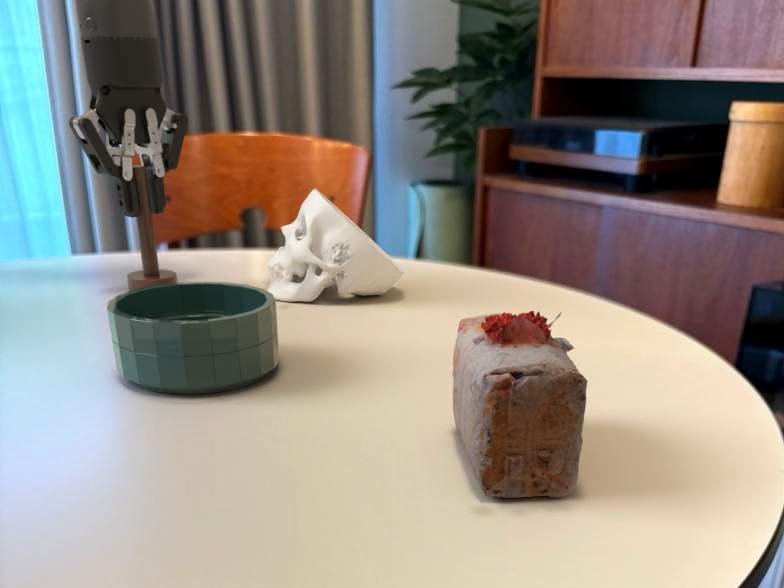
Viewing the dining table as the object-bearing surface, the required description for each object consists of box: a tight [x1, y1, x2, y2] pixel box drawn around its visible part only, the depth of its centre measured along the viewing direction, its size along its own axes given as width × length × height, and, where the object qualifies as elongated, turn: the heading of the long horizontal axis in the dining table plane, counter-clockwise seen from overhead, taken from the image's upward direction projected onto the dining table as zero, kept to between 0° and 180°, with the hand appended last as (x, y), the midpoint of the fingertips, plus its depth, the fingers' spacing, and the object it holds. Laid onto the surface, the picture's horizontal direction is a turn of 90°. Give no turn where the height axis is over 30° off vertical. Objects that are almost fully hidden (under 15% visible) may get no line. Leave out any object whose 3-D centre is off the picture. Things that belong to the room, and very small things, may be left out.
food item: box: [452, 310, 589, 500], centre depth 54 cm, size 14×8×10 cm, turn 5°
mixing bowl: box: [106, 281, 280, 395], centre depth 70 cm, size 13×13×6 cm
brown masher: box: [126, 164, 179, 291], centre depth 93 cm, size 6×6×13 cm
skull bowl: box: [266, 188, 405, 303], centre depth 93 cm, size 10×14×12 cm
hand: (143, 214), depth 92 cm, fingers closed
